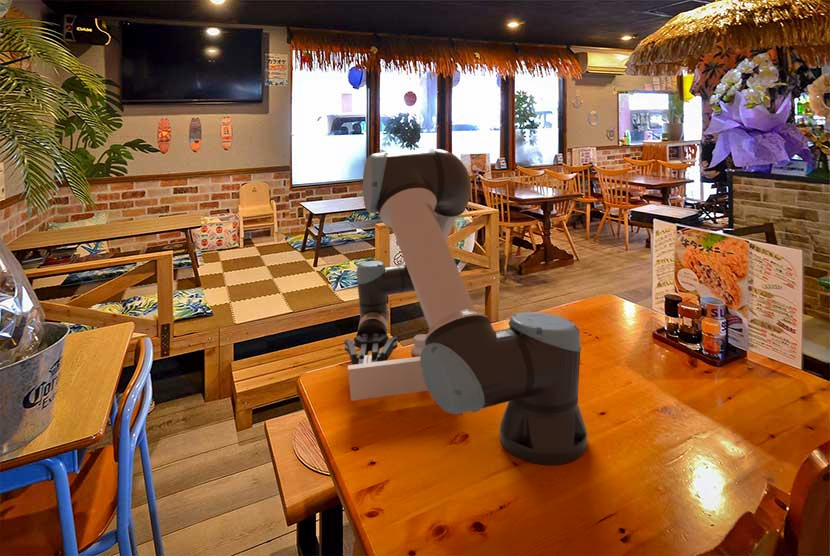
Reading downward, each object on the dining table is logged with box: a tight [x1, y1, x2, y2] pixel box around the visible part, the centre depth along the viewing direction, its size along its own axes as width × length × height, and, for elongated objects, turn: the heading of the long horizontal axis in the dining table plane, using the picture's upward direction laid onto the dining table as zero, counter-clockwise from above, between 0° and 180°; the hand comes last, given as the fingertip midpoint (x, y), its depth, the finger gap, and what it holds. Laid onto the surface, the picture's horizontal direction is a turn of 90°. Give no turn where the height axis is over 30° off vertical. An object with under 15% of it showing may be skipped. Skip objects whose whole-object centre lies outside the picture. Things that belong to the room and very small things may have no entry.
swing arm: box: [347, 356, 429, 402], centre depth 103 cm, size 20×2×7 cm, turn 100°
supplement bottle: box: [410, 333, 428, 358], centre depth 115 cm, size 5×5×10 cm
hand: (366, 374), depth 103 cm, fingers closed
